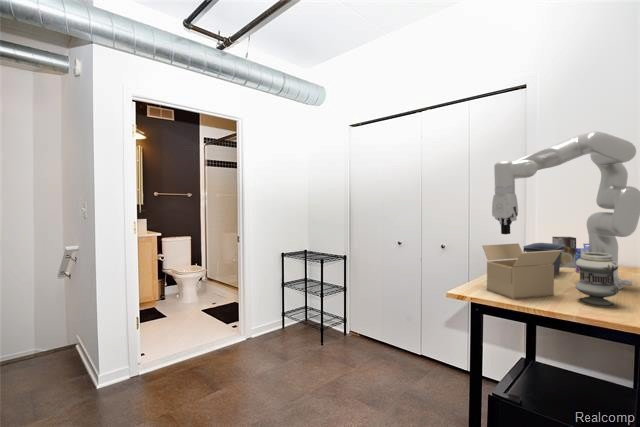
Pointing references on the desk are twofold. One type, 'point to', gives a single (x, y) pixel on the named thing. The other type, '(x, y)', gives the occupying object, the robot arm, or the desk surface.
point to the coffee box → (567, 250)
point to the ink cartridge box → (579, 253)
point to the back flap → (502, 251)
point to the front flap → (537, 258)
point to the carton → (520, 279)
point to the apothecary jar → (597, 278)
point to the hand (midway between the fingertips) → (505, 233)
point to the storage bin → (546, 247)
